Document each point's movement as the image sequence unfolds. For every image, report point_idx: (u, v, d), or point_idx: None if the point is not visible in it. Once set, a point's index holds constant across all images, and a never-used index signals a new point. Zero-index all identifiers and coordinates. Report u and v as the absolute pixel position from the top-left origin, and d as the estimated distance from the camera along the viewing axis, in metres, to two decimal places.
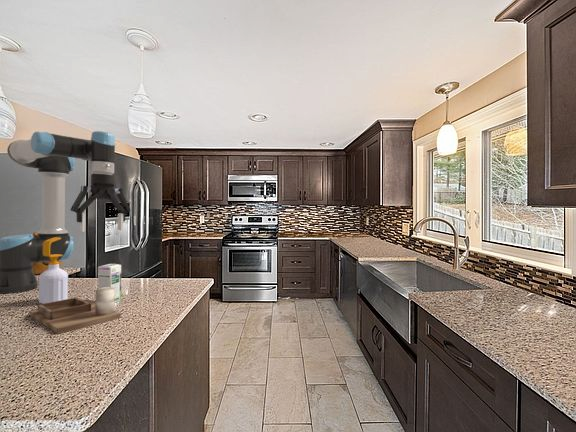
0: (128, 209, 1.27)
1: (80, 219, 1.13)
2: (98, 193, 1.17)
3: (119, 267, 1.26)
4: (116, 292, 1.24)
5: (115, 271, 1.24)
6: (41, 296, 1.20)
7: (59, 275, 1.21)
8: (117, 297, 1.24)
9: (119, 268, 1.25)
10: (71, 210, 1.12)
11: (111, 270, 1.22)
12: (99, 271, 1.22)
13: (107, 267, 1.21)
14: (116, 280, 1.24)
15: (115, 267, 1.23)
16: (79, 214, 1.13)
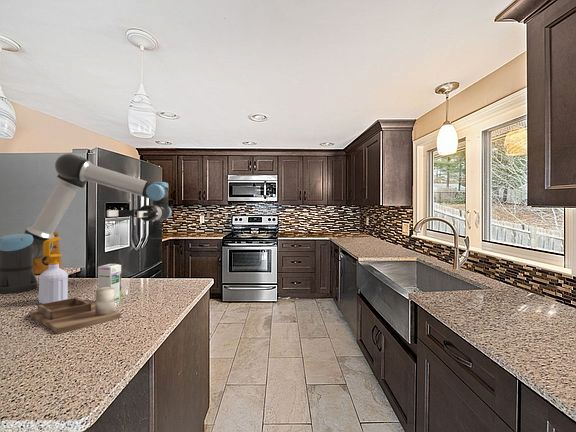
0: None
1: (145, 215, 1.37)
2: (146, 217, 1.47)
3: (119, 267, 1.25)
4: (116, 292, 1.24)
5: (115, 271, 1.24)
6: (41, 296, 1.20)
7: (59, 275, 1.21)
8: (117, 297, 1.24)
9: (119, 268, 1.25)
10: (155, 213, 1.40)
11: (111, 270, 1.22)
12: (99, 271, 1.22)
13: (107, 267, 1.21)
14: (116, 280, 1.24)
15: (115, 267, 1.23)
16: (148, 215, 1.39)
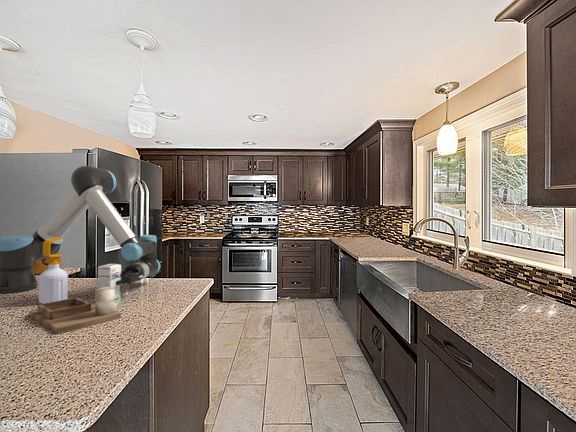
0: None
1: None
2: None
3: (119, 267, 1.26)
4: (116, 292, 1.24)
5: (115, 271, 1.24)
6: (41, 296, 1.20)
7: (59, 275, 1.21)
8: (117, 297, 1.24)
9: (119, 268, 1.25)
10: (129, 279, 1.26)
11: (111, 270, 1.22)
12: (99, 271, 1.22)
13: (107, 267, 1.21)
14: None
15: (115, 267, 1.23)
16: None
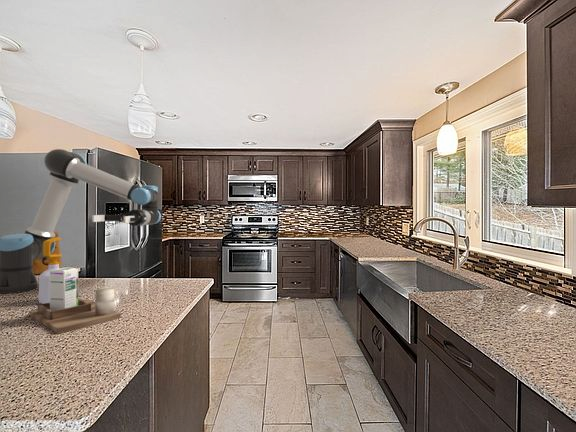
0: None
1: (132, 221, 1.33)
2: (133, 222, 1.43)
3: (76, 271, 1.09)
4: (71, 300, 1.07)
5: (71, 276, 1.07)
6: (41, 296, 1.20)
7: None
8: (72, 305, 1.08)
9: (75, 272, 1.09)
10: (142, 218, 1.36)
11: (65, 275, 1.05)
12: (51, 276, 1.05)
13: (60, 271, 1.05)
14: (72, 286, 1.07)
15: (70, 271, 1.07)
16: (136, 220, 1.35)
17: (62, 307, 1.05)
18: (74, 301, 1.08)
